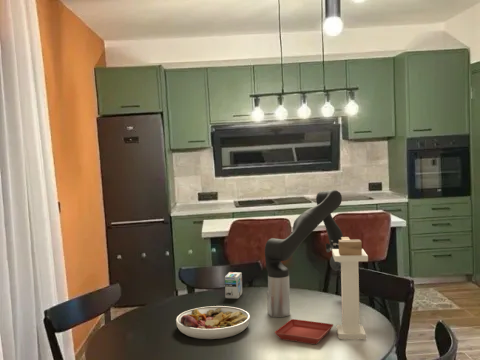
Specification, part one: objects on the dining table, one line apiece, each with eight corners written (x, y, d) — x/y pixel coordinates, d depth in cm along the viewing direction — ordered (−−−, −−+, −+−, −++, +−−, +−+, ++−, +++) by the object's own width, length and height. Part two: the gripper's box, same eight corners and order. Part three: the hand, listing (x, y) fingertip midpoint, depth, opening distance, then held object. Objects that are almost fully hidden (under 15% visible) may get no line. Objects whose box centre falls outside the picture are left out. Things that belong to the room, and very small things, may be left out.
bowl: (216, 312, 234) (215, 295, 233) (265, 327, 212) (264, 308, 212) (161, 330, 213) (161, 311, 212) (210, 348, 191) (209, 327, 191)
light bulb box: (238, 298, 254) (237, 277, 253) (225, 298, 255) (224, 276, 255) (242, 292, 264) (242, 272, 264) (229, 292, 266) (229, 271, 265)
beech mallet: (335, 244, 216) (334, 232, 216) (354, 244, 215) (354, 232, 215) (339, 255, 193) (339, 242, 193) (361, 255, 192) (361, 241, 192)
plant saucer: (291, 326, 213) (291, 318, 213) (334, 331, 205) (334, 323, 204) (273, 340, 197) (273, 332, 197) (319, 347, 189) (319, 338, 188)
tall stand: (333, 328, 208) (332, 249, 206) (364, 328, 206) (362, 248, 205) (336, 341, 194) (334, 256, 192) (369, 341, 192) (367, 255, 191)
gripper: (325, 245, 242) (325, 234, 227) (356, 244, 240) (358, 233, 225) (326, 261, 239) (326, 251, 224) (358, 260, 237) (359, 250, 222)
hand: (342, 242), depth 225 cm, fingers open, 8 cm apart
